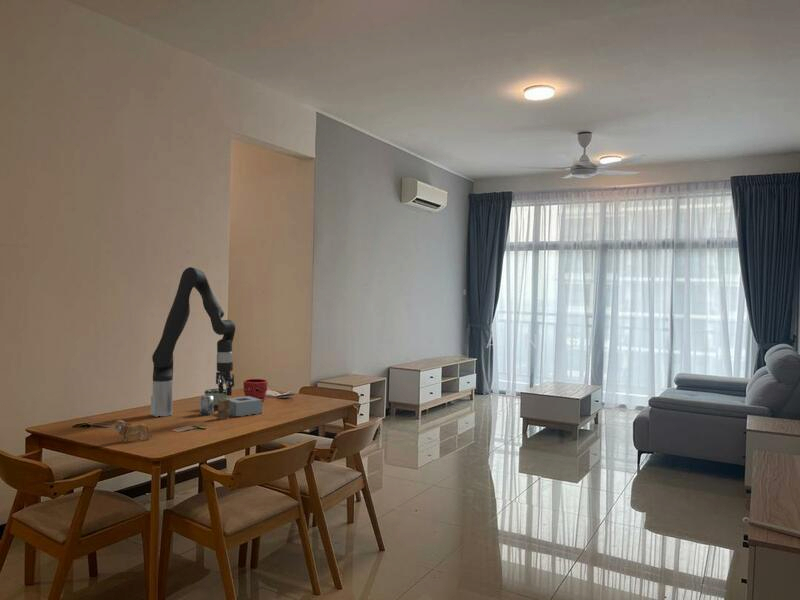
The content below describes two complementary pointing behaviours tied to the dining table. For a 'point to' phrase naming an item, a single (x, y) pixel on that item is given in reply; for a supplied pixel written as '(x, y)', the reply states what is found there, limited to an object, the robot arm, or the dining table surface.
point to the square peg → (223, 408)
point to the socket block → (245, 406)
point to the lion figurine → (131, 429)
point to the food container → (216, 395)
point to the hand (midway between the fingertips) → (225, 394)
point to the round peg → (206, 404)
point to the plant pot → (255, 388)
